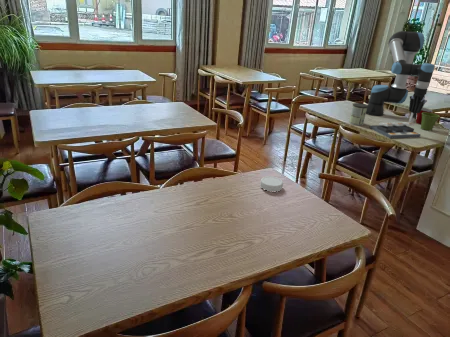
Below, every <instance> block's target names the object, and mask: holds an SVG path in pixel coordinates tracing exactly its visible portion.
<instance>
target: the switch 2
mask: <svg viewBox="0 0 450 337" xmlns="http://www.w3.org/2000/svg"><path fill="white" fill-rule="evenodd" d="M399 123H403V124H404V125H406V126H409V127H412V126H415V122H409V121H407V122H406V121H403V122H399Z"/></svg>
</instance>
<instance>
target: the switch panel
mask: <svg viewBox="0 0 450 337" xmlns="http://www.w3.org/2000/svg"><path fill="white" fill-rule="evenodd" d="M369 129H371V130H373V131H374V132H376V133H379V134H381V135H382V136H385V137H386V138H388V139H405V138H407V137H412V138H420V137H421V133H419V132H416V131H414V130H415V128H413V127H412V126H408V125H403V126H394V125H393V126H382V125H379V124H378V125H373V124H372V125H370V126H369ZM407 139H408V138H407Z"/></svg>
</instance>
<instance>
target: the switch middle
mask: <svg viewBox="0 0 450 337" xmlns="http://www.w3.org/2000/svg"><path fill="white" fill-rule="evenodd" d="M390 123H391V124H393V125H394V126H403V125H404V124H403V123H400V122H394V121H393V122H390Z"/></svg>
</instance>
